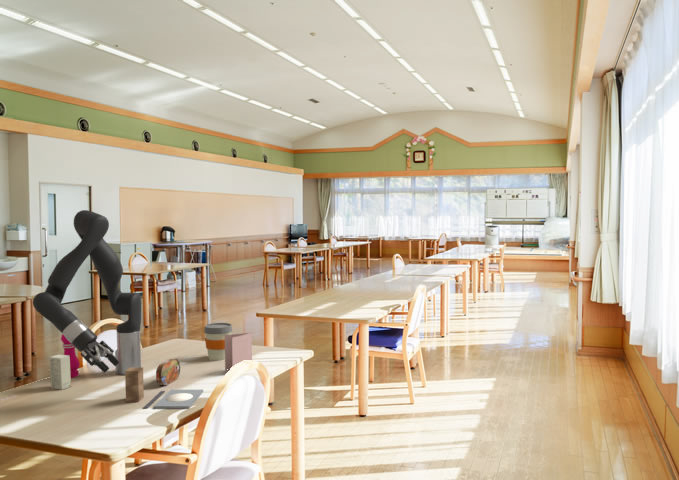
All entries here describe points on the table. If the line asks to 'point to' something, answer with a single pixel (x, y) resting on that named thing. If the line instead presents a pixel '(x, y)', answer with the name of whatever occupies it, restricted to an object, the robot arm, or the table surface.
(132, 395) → the square wooden post
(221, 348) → the reusable coffee cup
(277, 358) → the table surface
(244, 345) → the greeting card
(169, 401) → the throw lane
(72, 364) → the pepper mill
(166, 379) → the tin
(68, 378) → the skincare box
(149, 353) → the table surface
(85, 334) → the robot arm
